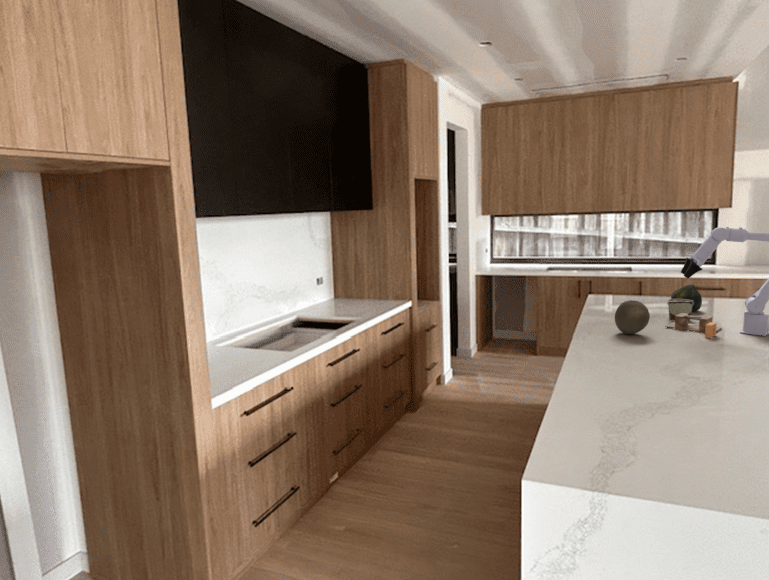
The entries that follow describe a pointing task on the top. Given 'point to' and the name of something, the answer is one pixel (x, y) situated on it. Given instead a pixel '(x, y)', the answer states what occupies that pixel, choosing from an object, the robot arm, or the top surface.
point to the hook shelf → (682, 323)
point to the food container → (679, 307)
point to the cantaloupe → (631, 317)
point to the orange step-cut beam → (710, 330)
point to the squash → (689, 295)
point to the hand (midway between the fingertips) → (684, 275)
